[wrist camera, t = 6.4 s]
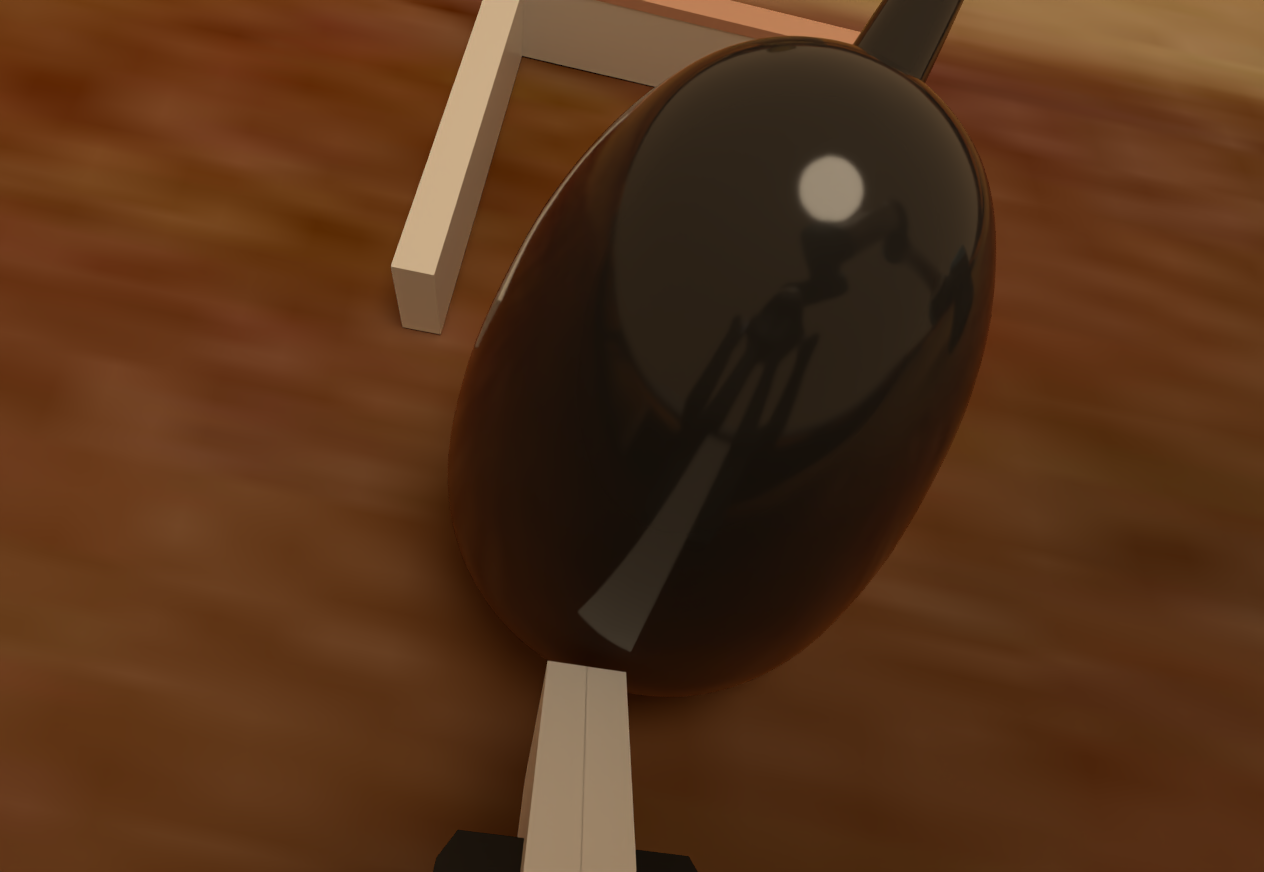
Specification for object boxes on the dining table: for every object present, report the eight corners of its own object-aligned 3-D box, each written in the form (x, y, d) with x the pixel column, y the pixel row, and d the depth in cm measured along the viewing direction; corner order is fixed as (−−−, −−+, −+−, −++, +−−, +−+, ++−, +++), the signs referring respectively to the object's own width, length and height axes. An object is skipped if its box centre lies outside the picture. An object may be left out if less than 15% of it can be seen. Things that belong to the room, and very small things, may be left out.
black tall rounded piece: (852, 475, 24) (1318, 51, 10) (714, 791, 19) (1242, 769, 6) (577, 321, 25) (677, -257, 11) (379, 588, 20) (141, 143, 6)
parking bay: (883, 119, 32) (924, 47, 29) (896, 423, 25) (951, 372, 22) (498, 29, 30) (498, -57, 27) (402, 326, 24) (388, 257, 20)
